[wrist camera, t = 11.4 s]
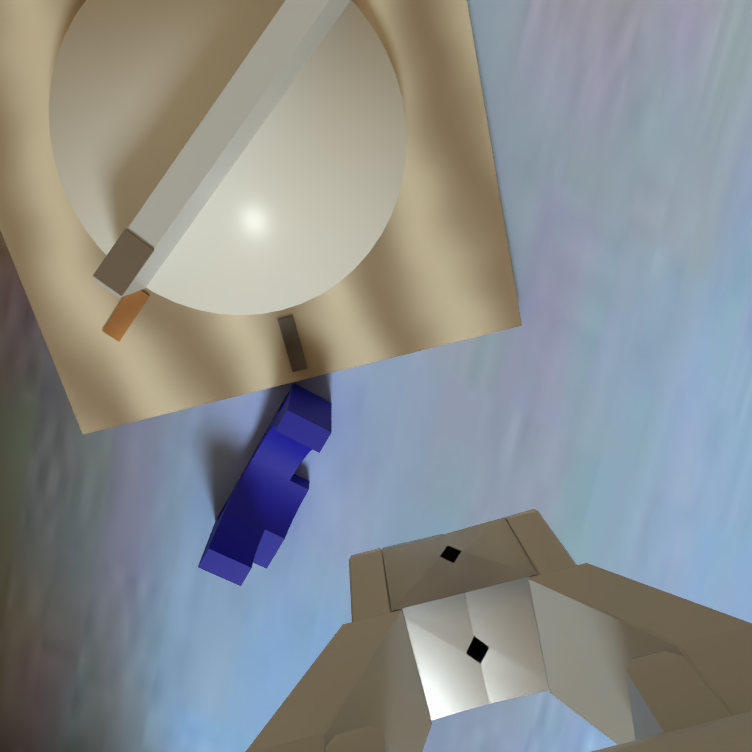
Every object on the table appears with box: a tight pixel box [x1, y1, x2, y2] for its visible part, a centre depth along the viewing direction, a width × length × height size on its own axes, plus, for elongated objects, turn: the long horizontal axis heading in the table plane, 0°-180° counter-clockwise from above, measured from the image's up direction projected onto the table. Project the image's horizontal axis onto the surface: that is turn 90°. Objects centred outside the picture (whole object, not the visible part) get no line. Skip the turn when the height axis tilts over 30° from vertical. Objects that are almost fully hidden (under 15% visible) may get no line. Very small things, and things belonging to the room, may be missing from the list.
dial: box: [49, 0, 407, 315], centre depth 32 cm, size 20×20×6 cm
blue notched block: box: [198, 383, 331, 586], centre depth 39 cm, size 12×4×6 cm, turn 150°
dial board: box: [0, 0, 522, 434], centre depth 35 cm, size 30×30×2 cm
